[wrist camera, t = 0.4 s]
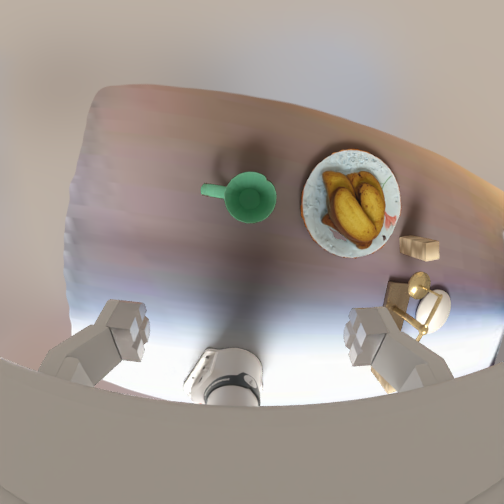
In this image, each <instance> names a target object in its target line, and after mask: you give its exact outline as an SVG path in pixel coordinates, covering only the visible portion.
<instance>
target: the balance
mask: <svg viewBox="0 0 504 504" xmlns="http://www.w3.org/2000/svg"><path fill="white" fill-rule="evenodd" d="M428 291H429V292H431V293H433V294H435V295H436V296H438V298H437V300H436V302H435V304H434V306H433V308H432V310H431V312H430V314H429V316H428V318H427V320H426V322H425V324H423V325H422V324H421V323H420V322H418V321H417V320H416V319H414V318H413V317H411V316H410V315H409V314H407V313H406V310H407V306H408V302H409V297H410V296H411V297H412V298H414V299H421V298H423V297H424V296H425V295H426V294H427V293H428ZM442 298H443V295H442V294H438V293H436V292H434V291H432V290H430V278H429V276H428V275H427V274H426V273H424V272H416V273H415V274H413V275H412V277H411V278H410V280H409V282H408V283H405V282H392V281H388V285H387V290H386V295H385V299H384V304H383V307H384V306H385V307H386V308H387V309H388V311H389V313H390V314H391V316H392V318H393V320H394V321H395V323H396V325H397V327H398V329H399V330H400V332H401V328H402V325H403V321H404V320H406V321H407V322H408V323H409V324H411V325H412V326H413V327H415V328H416V329H417V330H419V335H418V337H417V338H416V341H418V342H419V341H420V339H421V338H422V336H423V335H426V334H427V333H428V330H429V328H428V325H429V323H430V321H431V319H432V318H433V316H434V314H435V312H436V310H437V308H438V306H439V304H440V302H441V300H442Z"/></svg>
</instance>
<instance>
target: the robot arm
mask: <svg viewBox="0 0 504 504" xmlns="http://www.w3.org/2000/svg"><path fill="white" fill-rule="evenodd" d="M146 311H147V310H146V306H145V304H144V303H141V302H132V301H123V300H121V301H120V300H113V299H110V300H108V301H107V303H106V305H105V306H104V308H103V310H102V311H101V313H100V315H99V317H98V319H97V320H96V322H95V324H94V325H89V326H88V327H86V328H85V329H83V330H81V331H80V332H78V333H76V334H75V335H73V336H72V337H70V338H68V339H67V340H65V341H63V342H62V343H60V344H59V345H57V346H55V347H54V348H52V349H51V350H49V352H48V353H47V355H46V357H45V359H44V360H43V362H42V364H41V366H40V368H39V370H38V371H35V370H32V369H30V368H27V367H24V366H21V365H18V364H16V363H14V362H11V361H8V360H6V359H4V358H1V357H0V504H504V361H503V362H501V363H498V364H496V365H493V366H491V367H488V368H485V369H483V370H480V371H477V372H474V373H471V374H468V375H465V376H461V377H458V378H455V379H454V377H453V375H452V373H451V371H450V369H449V368H448V366H447V364H446V362H445V360H444V359H443V358H442V357H440V356H439V355H437V354H436V353H434V352H433V351H431V350H430V349H428V348H427V347H425V346H424V345H422V344H421V343H419V342H418V341H416V340H415V339H413V338H412V337H410V336H409V335H407V334H406V333H404V332H400V330H399V329H398V327H397V325H396V323H395V321H394V320H393V318H392V316H391V314H390V313H389V311H388V309H387V308H386V307H385V306H384V307H374V308H352V309H351V311H350V313H349V319H350V321H349V322H348V323H346V325H345V328H344V342H345V346H346V347H347V348H349V349H350V351H349V354H348V355H349V357H350V360H351V363H352V366H365V365H371V366H372V367H373V368H374V369H375V370H376V371H377V372H378V373H379V374H380V375H381V376H382V377H383V378H384V379H385V380H386V381H387V382H388V383H389V384H390V385H391V386H392V387H393V388H394V389H395V390H396V391H397V392H398V393H393V394H388V395H383V396H377V397H371V398H364V399H357V400H349V401H341V402H332V403H321V404H308V405H290V406H260V392H261V391H262V390H263V385H262V382H261V378H262V372H263V371H262V365H261V363H260V361H259V359H258V358H257V357H256V356H255V355H254V354H252V353H251V352H249V351H247V350H244V349H240V348H226V349H221V350H218V349H211V348H210V349H206V350H205V352H204V354H203V355H202V357H201V358H200V360H199V361H198V363H197V364H196V366H195V367H194V369H193V371H192V372H191V374H190V375H189V377H188V378H187V380H186V381H185V383H184V385H183V388H184V390H185V392H186V393H187V395H188V396H189V397H190V398H191V400H192V401H193V403H185V402H175V401H167V400H159V399H152V398H146V397H139V396H133V395H128V394H123V393H117V392H112V391H107V390H103V389H98V388H94V386H95V385H96V384H97V383H98V382H99V381H100V380H101V379H102V378H104V377H105V376H106V375H107V374H108V373H109V372H110V371H111V370H112V369H113V368H114V367H116V366H117V365H118V364H119V363H120V362H121V361H122V360H127V361H135V362H141V360H142V357H143V354H144V351H145V348H144V344H145V343H146V342H148V339H149V335H150V323H149V319H148V318H147V317H146V316H145V314H146ZM206 356H209V357H206ZM190 392H191V393H190Z"/></svg>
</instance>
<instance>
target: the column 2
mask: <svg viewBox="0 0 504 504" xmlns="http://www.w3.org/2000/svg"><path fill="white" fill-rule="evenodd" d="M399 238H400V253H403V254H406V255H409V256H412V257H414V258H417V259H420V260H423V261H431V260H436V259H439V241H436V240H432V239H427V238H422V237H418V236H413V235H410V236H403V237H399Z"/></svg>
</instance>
